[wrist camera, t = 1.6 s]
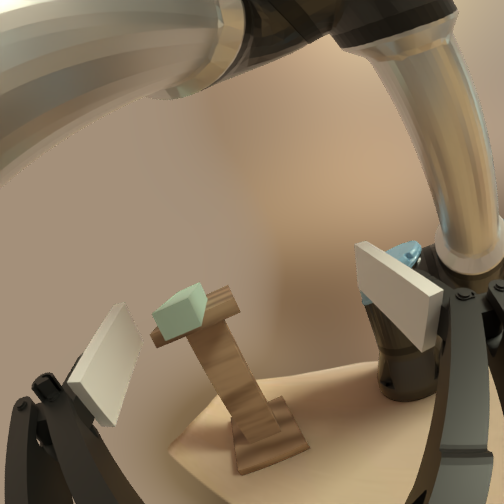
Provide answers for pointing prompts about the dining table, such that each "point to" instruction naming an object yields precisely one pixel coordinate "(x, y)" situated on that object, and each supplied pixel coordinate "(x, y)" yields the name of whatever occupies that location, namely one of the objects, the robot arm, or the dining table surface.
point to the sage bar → (181, 312)
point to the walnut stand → (240, 390)
